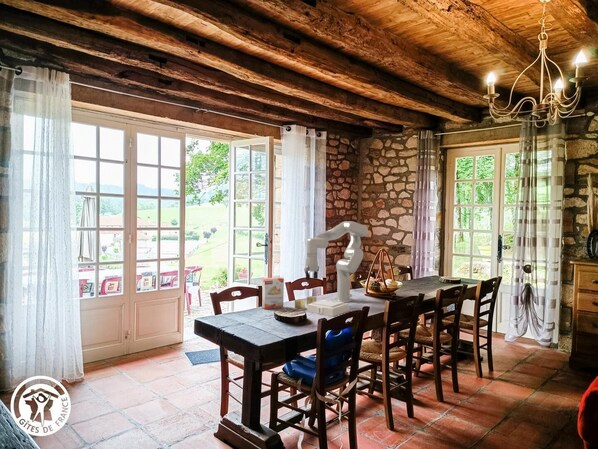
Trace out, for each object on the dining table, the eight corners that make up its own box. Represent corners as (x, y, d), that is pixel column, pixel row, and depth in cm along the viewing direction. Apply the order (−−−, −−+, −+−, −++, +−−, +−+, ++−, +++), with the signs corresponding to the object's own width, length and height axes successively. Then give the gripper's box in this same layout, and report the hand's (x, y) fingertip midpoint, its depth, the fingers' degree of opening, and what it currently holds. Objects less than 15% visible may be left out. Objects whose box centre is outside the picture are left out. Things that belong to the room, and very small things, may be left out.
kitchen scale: (323, 306, 290) (323, 298, 290) (348, 310, 278) (348, 302, 278) (306, 312, 273) (306, 303, 273) (332, 316, 261) (332, 307, 261)
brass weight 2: (310, 304, 298) (310, 296, 298) (316, 305, 295) (316, 296, 295) (306, 305, 294) (306, 297, 294) (312, 306, 292) (312, 297, 291)
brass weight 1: (299, 307, 287) (299, 299, 287) (304, 308, 284) (305, 299, 284) (294, 308, 283) (294, 300, 283) (300, 309, 280) (300, 301, 280)
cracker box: (264, 309, 280) (264, 279, 280) (262, 307, 286) (262, 277, 285) (283, 308, 285) (284, 278, 285) (281, 306, 291) (281, 276, 290)
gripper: (314, 254, 303) (314, 277, 304) (300, 255, 290) (300, 280, 290) (323, 255, 299) (322, 278, 299) (309, 256, 285) (309, 281, 285)
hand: (311, 279), depth 294 cm, fingers open, 9 cm apart
